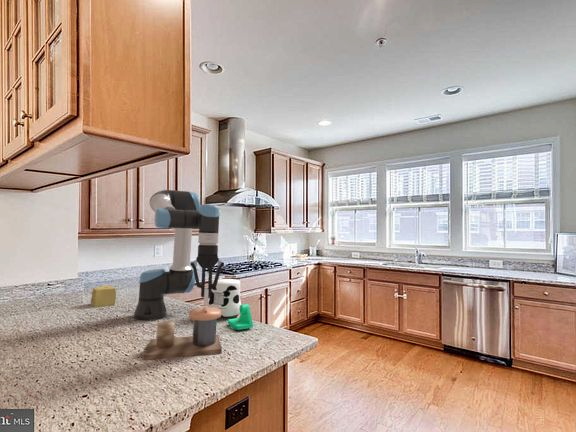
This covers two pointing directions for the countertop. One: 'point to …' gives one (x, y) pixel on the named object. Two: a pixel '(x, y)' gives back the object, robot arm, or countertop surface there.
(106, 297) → the cheese
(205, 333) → the tube
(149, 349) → the brown board with post
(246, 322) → the camera mount
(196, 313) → the domed pot lid
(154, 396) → the countertop surface
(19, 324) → the countertop surface
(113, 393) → the countertop surface
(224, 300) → the milk container
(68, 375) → the countertop surface
